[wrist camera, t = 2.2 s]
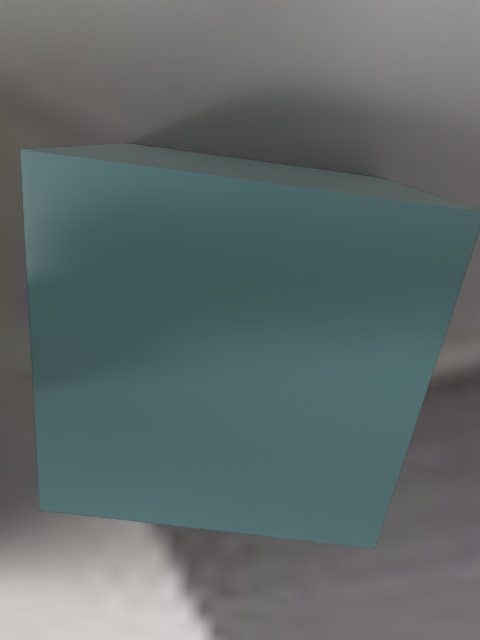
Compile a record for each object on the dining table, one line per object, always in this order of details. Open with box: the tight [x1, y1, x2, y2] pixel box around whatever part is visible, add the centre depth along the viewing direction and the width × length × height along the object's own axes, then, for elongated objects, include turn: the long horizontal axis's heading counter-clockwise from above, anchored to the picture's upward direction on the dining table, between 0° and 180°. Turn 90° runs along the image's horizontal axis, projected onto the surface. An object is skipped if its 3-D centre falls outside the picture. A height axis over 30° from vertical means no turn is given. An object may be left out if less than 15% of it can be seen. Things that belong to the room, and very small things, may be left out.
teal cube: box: [20, 143, 480, 549], centre depth 16 cm, size 10×10×9 cm
